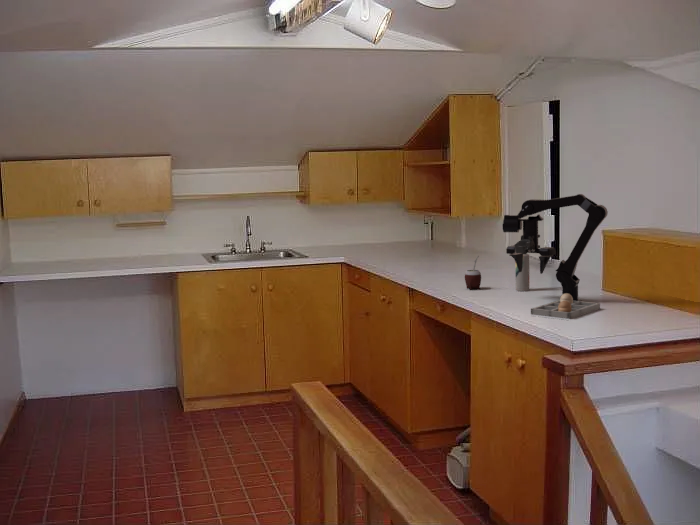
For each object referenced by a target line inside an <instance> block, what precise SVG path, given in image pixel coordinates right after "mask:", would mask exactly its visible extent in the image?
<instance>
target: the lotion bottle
mask: <svg viewBox="0 0 700 525" xmlns="http://www.w3.org/2000/svg"><path fill="white" fill-rule="evenodd" d="M514 262H515V261H514ZM514 274H515V291H516V292H528V291H530V253H525V254H523V265H522V272H519V270H518V267H517V264H516V262H515V271H514Z"/></svg>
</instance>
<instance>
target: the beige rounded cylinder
mask: <svg viewBox="0 0 700 525" xmlns="http://www.w3.org/2000/svg"><path fill="white" fill-rule="evenodd" d="M559 300H560V302H562V301H568V302H569V303H570V304H572V303H573V298H572V296H571V295H570V294H568V293H565V294H563V295H562V294H561V296H560V299H559Z"/></svg>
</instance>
